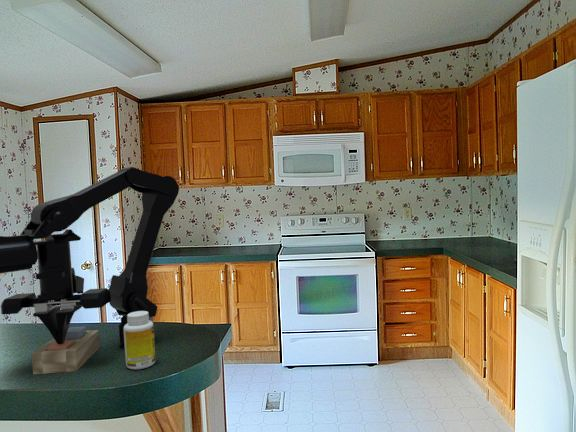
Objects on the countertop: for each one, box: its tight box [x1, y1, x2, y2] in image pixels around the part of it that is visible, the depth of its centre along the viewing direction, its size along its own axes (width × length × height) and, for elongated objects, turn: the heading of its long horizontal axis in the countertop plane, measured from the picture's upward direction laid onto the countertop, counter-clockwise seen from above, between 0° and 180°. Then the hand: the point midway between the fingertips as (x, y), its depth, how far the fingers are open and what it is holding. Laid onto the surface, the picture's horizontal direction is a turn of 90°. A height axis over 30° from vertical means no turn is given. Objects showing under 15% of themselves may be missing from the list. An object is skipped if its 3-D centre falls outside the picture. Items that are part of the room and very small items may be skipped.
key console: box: [31, 329, 101, 375], centre depth 89 cm, size 8×13×4 cm, turn 5°
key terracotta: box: [47, 340, 74, 351], centre depth 86 cm, size 4×4×3 cm
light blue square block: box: [65, 325, 87, 340], centre depth 92 cm, size 4×4×3 cm
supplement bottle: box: [124, 311, 157, 370], centre depth 84 cm, size 6×6×10 cm
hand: (61, 343), depth 86 cm, fingers closed, pressing on key terracotta
